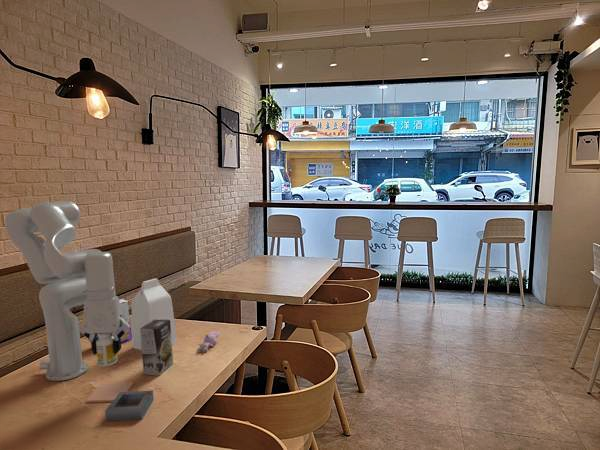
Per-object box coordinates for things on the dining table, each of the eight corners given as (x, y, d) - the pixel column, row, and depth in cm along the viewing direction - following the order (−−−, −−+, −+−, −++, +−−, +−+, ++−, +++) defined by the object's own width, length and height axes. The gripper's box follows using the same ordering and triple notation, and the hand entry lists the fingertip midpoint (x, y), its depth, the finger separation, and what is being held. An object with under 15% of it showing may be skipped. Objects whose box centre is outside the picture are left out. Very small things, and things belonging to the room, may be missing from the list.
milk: (152, 353, 153) (147, 285, 150) (132, 347, 159) (127, 282, 156) (177, 342, 164) (172, 278, 160) (157, 336, 170) (153, 275, 166)
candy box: (125, 336, 171) (122, 298, 169) (132, 339, 167) (129, 300, 166) (91, 347, 161) (87, 306, 159) (98, 351, 157) (94, 309, 155)
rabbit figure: (208, 358, 151) (225, 336, 165) (206, 344, 150) (223, 323, 164) (193, 356, 153) (211, 335, 167) (191, 342, 151) (209, 322, 165)
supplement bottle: (119, 357, 128) (116, 327, 126) (115, 365, 122) (112, 334, 121) (100, 360, 126) (97, 329, 125) (95, 367, 121) (92, 336, 120)
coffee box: (160, 376, 136) (156, 329, 134) (142, 374, 137) (139, 328, 135) (174, 363, 145) (171, 319, 143) (157, 362, 146) (154, 318, 144)
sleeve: (106, 420, 111) (105, 410, 111) (120, 401, 121) (119, 391, 120) (142, 419, 111) (141, 409, 111) (153, 400, 121) (152, 390, 120)
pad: (86, 402, 121) (85, 400, 121) (101, 385, 131) (101, 383, 130) (120, 401, 121) (120, 399, 121) (133, 384, 131) (133, 382, 131)
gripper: (65, 298, 118) (71, 359, 120) (125, 296, 118) (130, 356, 121) (78, 291, 125) (84, 348, 128) (135, 289, 126) (140, 346, 128)
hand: (106, 351), depth 124 cm, fingers closed on supplement bottle, 5 cm apart
